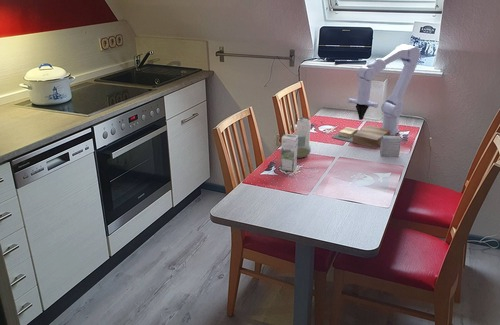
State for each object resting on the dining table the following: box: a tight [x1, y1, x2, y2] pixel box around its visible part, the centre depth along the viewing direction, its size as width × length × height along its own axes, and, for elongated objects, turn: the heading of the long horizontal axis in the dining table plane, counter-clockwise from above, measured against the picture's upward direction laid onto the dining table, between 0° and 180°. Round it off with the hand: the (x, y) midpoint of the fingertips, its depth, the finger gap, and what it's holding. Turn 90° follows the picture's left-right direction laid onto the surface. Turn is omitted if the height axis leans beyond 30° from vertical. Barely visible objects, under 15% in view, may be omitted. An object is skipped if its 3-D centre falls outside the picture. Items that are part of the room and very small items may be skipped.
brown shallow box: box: [351, 124, 391, 149], centre depth 223 cm, size 18×12×4 cm, turn 145°
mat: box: [331, 129, 361, 143], centre depth 230 cm, size 18×11×1 cm, turn 145°
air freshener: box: [292, 132, 312, 159], centre depth 203 cm, size 11×8×10 cm
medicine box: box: [379, 135, 402, 158], centre depth 205 cm, size 8×4×9 cm, turn 84°
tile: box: [338, 126, 359, 138], centre depth 230 cm, size 9×6×2 cm, turn 145°
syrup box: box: [280, 133, 298, 172], centre depth 189 cm, size 6×6×14 cm
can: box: [295, 117, 312, 145], centre depth 217 cm, size 6×6×12 cm
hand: (361, 119), depth 224 cm, fingers closed
